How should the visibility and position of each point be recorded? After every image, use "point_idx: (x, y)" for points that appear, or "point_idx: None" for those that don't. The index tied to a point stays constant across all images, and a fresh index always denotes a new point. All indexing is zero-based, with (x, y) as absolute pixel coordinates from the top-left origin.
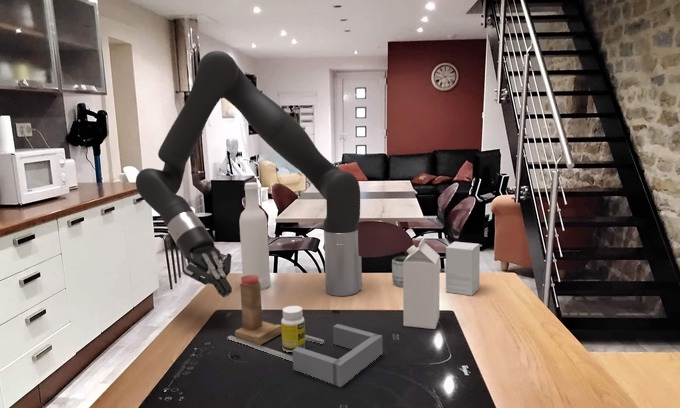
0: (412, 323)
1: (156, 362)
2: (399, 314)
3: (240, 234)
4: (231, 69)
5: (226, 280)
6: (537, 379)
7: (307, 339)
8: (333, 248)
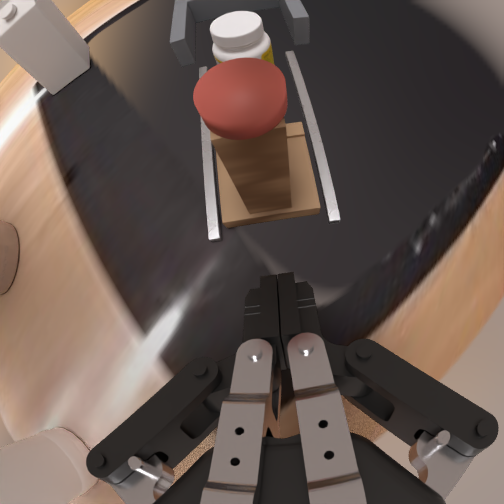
0: (87, 58)
1: (493, 250)
2: (55, 103)
3: None
4: None
5: (248, 332)
6: None
7: None
8: None
